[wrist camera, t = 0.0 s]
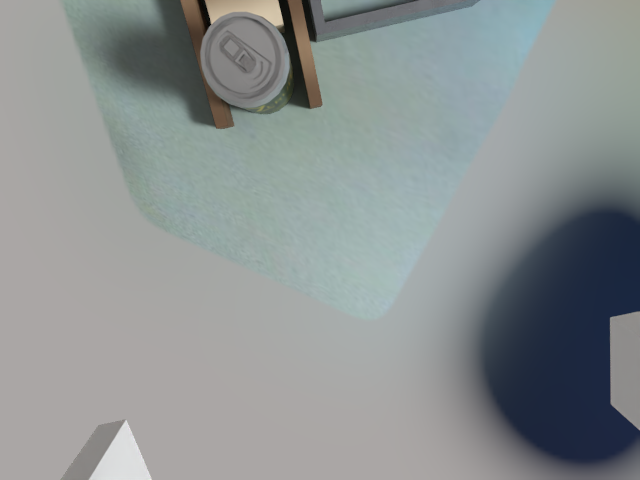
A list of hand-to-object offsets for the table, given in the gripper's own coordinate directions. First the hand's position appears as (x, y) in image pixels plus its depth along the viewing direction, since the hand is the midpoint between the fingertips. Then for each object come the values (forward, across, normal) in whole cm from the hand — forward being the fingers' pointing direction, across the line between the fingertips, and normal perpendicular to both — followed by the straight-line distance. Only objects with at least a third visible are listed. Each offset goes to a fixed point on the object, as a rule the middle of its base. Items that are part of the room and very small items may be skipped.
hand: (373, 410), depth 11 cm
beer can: (+28, -3, +12) cm, 31 cm away
